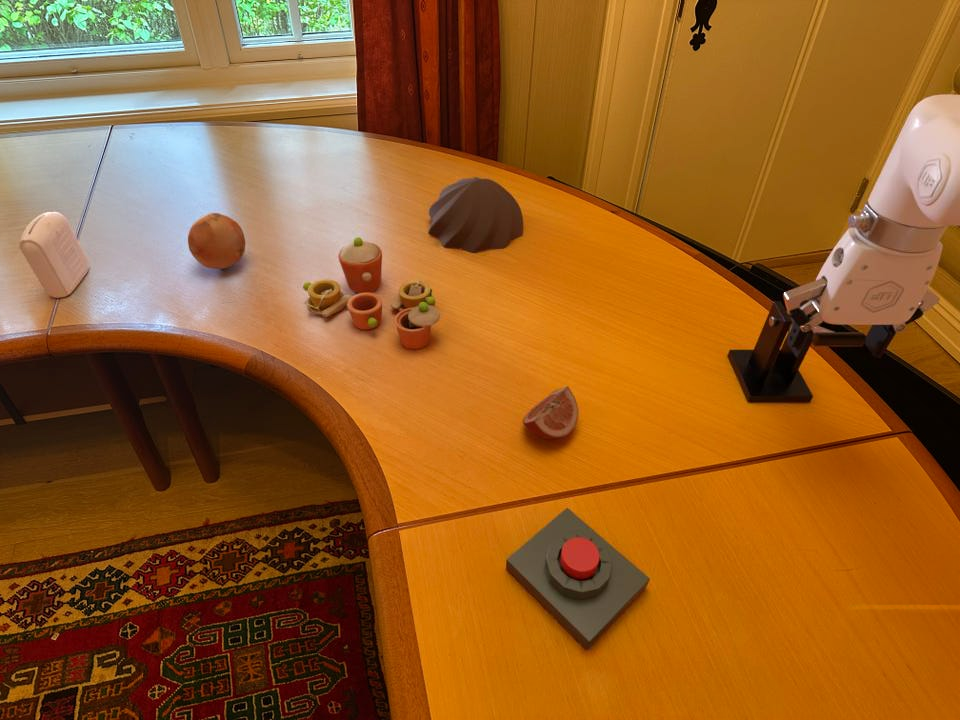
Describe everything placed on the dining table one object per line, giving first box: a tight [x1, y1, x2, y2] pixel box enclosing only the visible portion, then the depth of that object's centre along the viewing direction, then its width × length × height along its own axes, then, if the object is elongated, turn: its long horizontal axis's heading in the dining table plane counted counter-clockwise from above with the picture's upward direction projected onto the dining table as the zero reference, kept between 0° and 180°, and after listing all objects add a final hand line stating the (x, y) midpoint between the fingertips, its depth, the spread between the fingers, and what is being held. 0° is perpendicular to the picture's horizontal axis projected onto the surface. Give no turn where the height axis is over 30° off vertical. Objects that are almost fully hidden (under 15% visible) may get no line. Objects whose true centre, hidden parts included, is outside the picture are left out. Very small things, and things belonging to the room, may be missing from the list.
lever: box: [786, 310, 866, 347], centre depth 78 cm, size 13×6×2 cm, turn 179°
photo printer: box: [18, 211, 91, 299], centre depth 104 cm, size 10×4×12 cm, turn 4°
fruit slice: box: [522, 385, 579, 440], centre depth 82 cm, size 8×7×5 cm
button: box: [560, 537, 600, 579], centre depth 64 cm, size 4×4×2 cm
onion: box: [187, 212, 246, 270], centre depth 109 cm, size 10×10×10 cm
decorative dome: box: [427, 176, 524, 254], centre depth 119 cm, size 19×20×10 cm
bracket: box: [727, 301, 822, 403], centre depth 86 cm, size 10×9×13 cm
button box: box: [505, 507, 651, 651], centre depth 66 cm, size 12×10×4 cm
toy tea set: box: [302, 236, 441, 350], centre depth 99 cm, size 26×16×10 cm, turn 59°
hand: (832, 349), depth 74 cm, fingers open, 9 cm apart
